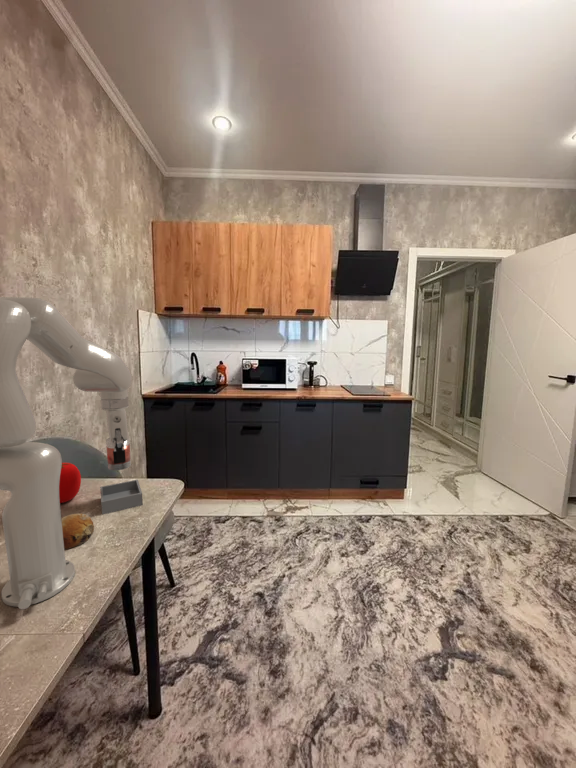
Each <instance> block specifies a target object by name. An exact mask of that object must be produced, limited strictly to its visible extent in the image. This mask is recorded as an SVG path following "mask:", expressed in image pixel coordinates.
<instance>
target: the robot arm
mask: <svg viewBox="0 0 576 768" xmlns="http://www.w3.org/2000/svg"><path fill="white" fill-rule="evenodd" d="M26 340H27V341H29V342H30V344H31V343H32V345H33V346H35V347H36V348H37V349H38V350H39V351H41V352H42V353H43V354H44V355H45V356H47V358H49V359H50V360H51V361H52V362H54V363H55V364H57V365H60V366H63V367H66V368H71V369H74V370H75V369H76V370H75V371H74V373H73V375H72V376H73V377H72V381H73V385H74V386H75V387H76V388H77V389H78V390H80V391H84V392H88V393H89V392H90V393H100V395H99V396H100V409H101V410H102V411H105V412H106V414H105V415H106V423H107V431H108V435H109V438H110V440H111V442H113V445H114V451H113V457H114V464H117V463H123V462H126V458H125V449H124V442H123V441H124V440H126V441H127V440H128V437H129V430H128V417H127V412H126V410H127V409H128V408H129V407H130V403H129V389H130V387H131V385H132V380H133V379H132V378H133V377H132V372H131V370H130V368H129V366H127V364H126V363H125V361H124V360H123V358H121V357H120V356H119V355H118V354H117V353H115V352H113V351H111V350H110V349H108V348H105V347H103V346H102V345H99V344H97V343H96V342H93V341H91V340H88V339H87V338H84V337H83V336H82V334H81V333H79V331H78V330H77V329H76V328H75V327H74V326H73V325H72V324H71V323H70V322H69V321H68V319H67V318H66V317H65V316H64V315H63V314H62V313H61V312H60V311H59V309H58V308H57V307H56V306H54V304H52V303H51V302H50V301H47V300H46V299H42V298H38V297H19V296H18V297H16V296H15V297H12V296H10V297H8V296H6V297H5V296H0V491H7V492H10V494H11V495H10V498H9V499H8V500H7V503H6V504H5V506H4V507H3V510H2V513H1V515H2V516H1V517H2V518H1V519H2V520H1V521H2V527H3V534H4V535H3V536H4V542H5V550H6V551H5V552H6V558H7V567H8V574H9V579H8V580H7V582H6V583H5V585H4V586H3V588H2V589H1V599H2V602H3V603H4V604H5V605H7V606H10V607H18V608H19V609H20V610H26V609H28V608H29V607H30V606H31V605H35V604H37V603H41V602H43V601H46V600H48V599H50V598H52V597H53V596H56V595H57V594H59V593H60V592H62V590H64V589H65V588H66V587H67V586H68V585H69V584H70V583H71V582H72V580H73V579H74V577H75V574H76V568H75V565H74V563H73V562H71V560H67V559H66V552H65V549H64V541H63V531H62V521H61V518H62V511H61V503H60V499H59V481H60V473H61V466H62V463H63V460H62V459H63V458H62V455H61V452H60V451H59V449H57V448H56V447H55V446H53V445H51V444H48V443H43V442H40V441H39V442H36V441H31V439H32V438H33V437H34V435H35V434H36V431H37V422H36V418H35V416H34V414H33V410H32V408H31V407H30V404H29V401H28V399H27V396H26V395H25V393H24V389H23V388H22V385H21V382H20V379H19V377H18V373H17V361H18V357H19V356H20V353H21V350H22V349H23V346H24V345H25V343H26ZM121 438H122V440H121ZM123 438H124V440H123ZM114 439H116V440H117V441H115V440H114ZM115 443H117V444H115Z"/></svg>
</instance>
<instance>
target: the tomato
mask: <svg viewBox="0 0 576 768" xmlns="http://www.w3.org/2000/svg"><path fill="white" fill-rule="evenodd" d="M81 483H82V475H81V471H80V470H79V469H78V467H77V466H76V465H75V464H73V463H72V462H62V466H61V473H60V481H59V499H60V504H63V503H66V502H69V501H72V499H74V498H75V497H76V496H77V494H78V493H79V491H80V489H81Z"/></svg>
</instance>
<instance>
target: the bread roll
mask: <svg viewBox="0 0 576 768" xmlns="http://www.w3.org/2000/svg"><path fill="white" fill-rule="evenodd" d="M61 521H62V531H63V541H64V550H65V549H66V550H67V549H68V550H69V549H72V548H75V547H78V546H79V545H82V543H83V544H84V543H86V542H87V541H89V539H90V538H91V537H92V535H93V534H94V530H95V526H94V525H95V524H94V521H93V520H92V518H91V517H90V516H89V515H87V514H85V513H80V512H79V513H71V514H68V515H65V516H63V517H61Z"/></svg>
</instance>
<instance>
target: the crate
mask: <svg viewBox="0 0 576 768" xmlns="http://www.w3.org/2000/svg"><path fill="white" fill-rule="evenodd" d="M99 488H100V501H101V503H100V505H101V513H102V515H106V514H110V513H115V512H119V511H123V510H128V509H133V508H136V506H137V507H140V506H143V505H144V504H143V503H144V501H143V491H142V488H141V486H140V482H139V479H133V480H128V481H124V482H118V483H114V484H109V485H108V484H107V485H102V486H100V487H99ZM132 507H133V508H132Z"/></svg>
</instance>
